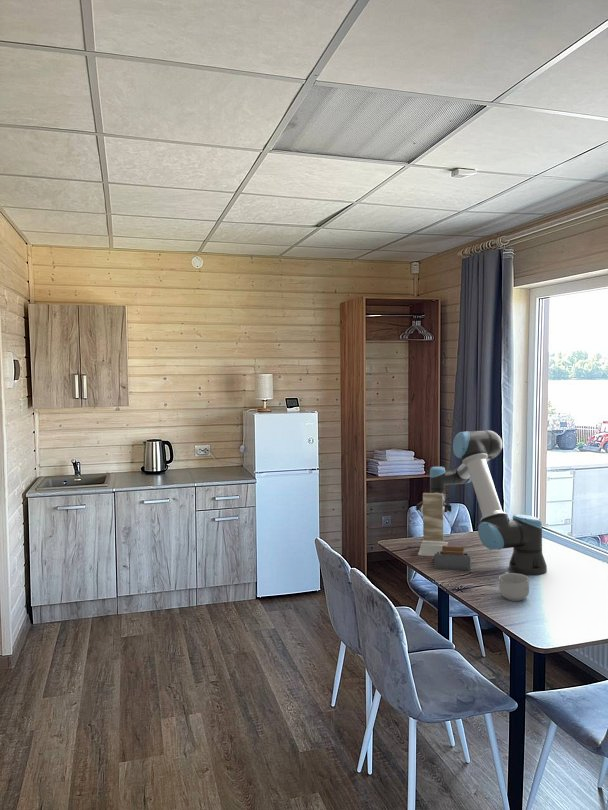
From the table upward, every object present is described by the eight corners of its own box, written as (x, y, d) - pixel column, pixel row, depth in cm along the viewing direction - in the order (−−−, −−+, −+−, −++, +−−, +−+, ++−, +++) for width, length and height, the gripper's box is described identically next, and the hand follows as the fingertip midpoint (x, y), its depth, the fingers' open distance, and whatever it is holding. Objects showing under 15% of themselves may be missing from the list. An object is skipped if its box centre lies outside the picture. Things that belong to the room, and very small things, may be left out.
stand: (420, 552, 290) (420, 539, 289) (450, 553, 285) (450, 541, 285) (418, 558, 280) (417, 545, 280) (448, 560, 276) (448, 547, 276)
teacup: (532, 604, 221) (531, 582, 221) (501, 603, 223) (501, 581, 223) (524, 590, 235) (524, 570, 235) (495, 589, 237) (495, 569, 236)
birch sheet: (423, 538, 285) (423, 492, 284) (443, 540, 283) (442, 493, 282) (423, 540, 283) (422, 493, 282) (443, 541, 280) (442, 494, 279)
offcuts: (442, 563, 267) (442, 545, 267) (463, 564, 264) (463, 546, 264) (441, 567, 261) (441, 549, 261) (463, 568, 258) (463, 550, 258)
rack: (437, 561, 274) (436, 545, 274) (471, 563, 270) (471, 547, 270) (434, 571, 260) (434, 554, 260) (470, 574, 256) (470, 556, 255)
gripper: (458, 509, 296) (456, 521, 275) (414, 508, 303) (408, 518, 281) (458, 494, 296) (456, 504, 274) (413, 493, 302) (408, 502, 281)
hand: (432, 511), depth 278 cm, fingers closed on birch sheet, 9 cm apart
